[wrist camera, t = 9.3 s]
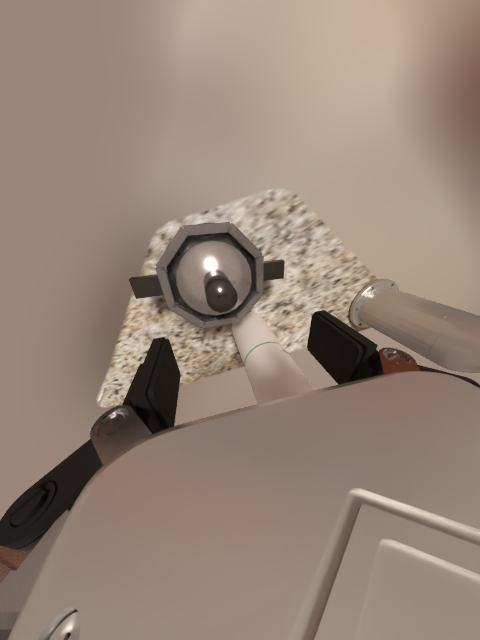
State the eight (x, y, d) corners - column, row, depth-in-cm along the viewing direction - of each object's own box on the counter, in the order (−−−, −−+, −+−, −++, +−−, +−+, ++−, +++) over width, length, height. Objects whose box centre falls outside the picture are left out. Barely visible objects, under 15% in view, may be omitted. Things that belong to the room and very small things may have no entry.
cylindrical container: (248, 345, 39) (313, 486, 18) (224, 330, 36) (269, 483, 14) (269, 322, 38) (368, 449, 16) (246, 305, 34) (334, 436, 13)
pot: (269, 218, 28) (293, 216, 21) (267, 296, 34) (286, 314, 28) (127, 229, 24) (101, 230, 17) (157, 314, 31) (147, 339, 24)
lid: (247, 237, 22) (268, 241, 16) (250, 306, 26) (267, 329, 21) (167, 244, 20) (156, 252, 14) (186, 317, 25) (184, 345, 19)
